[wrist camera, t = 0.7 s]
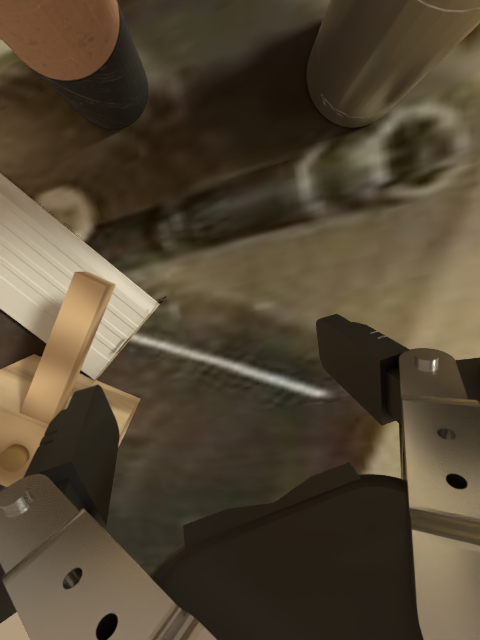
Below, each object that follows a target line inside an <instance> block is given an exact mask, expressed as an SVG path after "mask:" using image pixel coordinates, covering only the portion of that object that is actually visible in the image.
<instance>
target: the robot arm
mask: <svg viewBox="0 0 480 640" xmlns="http://www.w3.org/2000/svg"><path fill="white" fill-rule="evenodd" d="M479 23H480V0H331V1H330V3H329V6H328V8H327V11H326V14H325V16H324V19H323V21H322V24H321V26H320V29H319V32H318V34H317V37H316V40H315V42H314V45H313V48H312V50H311V53H310V56H309V60H308V64H307V77H306V78H307V85H308V90H309V93H310V96H311V99H312V101H313V103H314V105H315V106H316V108H317V109H318V111H319V112H320V113H321V114H322V115H323V116H324V117H325V118H327V119H328V120H330V121H331V122H332V123H335V124H337V125H340V126H343V127H350V128H355V127H363V126H366V125H369V124H372V123H374V122H375V121H377V120H379V119H381V118H382V117H383V116H384V115H385V114H386V113H387V112H388V111H389V110H390V109H391V108H392V107H393V106H395V105H396V104H397V103H398V102H399V101H400V100H401V99H402V98H403V97H404V96H405V95H406V94H407V93H408V92H409V91H410V90H411V89H412V88H413V87H414V86H415V85H416V84H417V83H419V82H420V81H421V80H422V79H423V78H424V77H425V76H426V75H427V74H428V73H429V72H430V71H431V70H432V69H433V68H434V67H435V66H436V65H437V64H438V63H439V62H440V61H441V60H442V59H443V58H444V57H445V56H446V55H447V54H448V53H449V52H450V51H451V50H453V49H454V48H455V47H456V46H457V45H458V44H459V43H460V42H461V41H462V40H463V39H464V38H465V37H466V36H467V35H468V34H469V33H470V32H471V31H472V30H473V29H474V28H475V27H476V26H477V25H478V24H479ZM316 329H317V337H318V346H319V355H320V360H321V363H322V365H323V367H324V369H325V370H326V371H327V372H328V373H329V374H330V375H331V376H332V377H333V378H334V379H335V380H336V381H337V382H338V383H339V384H340V385H341V386H342V387H343V388H344V389H345V390H346V391H347V392H348V393H349V394H350V395H351V396H352V397H353V398H354V399H355V400H356V401H357V402H358V403H359V404H360V405H361V406H362V407H363V408H364V409H365V410H367V411H368V412H369V413H370V414H371V415H372V416H373V417H374V418H375V419H376V420H377V421H378V422H379V423H380V424H381V425H385V424H387V423H390V422H393V421H397V422H398V423H399V438H400V460H401V479H399V478H396V477H391V476H385V475H375V474H366V475H358V474H357V472H356V471H355V470H354V468H353V467H352V466H351V464H350V463H346V464H343V465H341V466H338V467H336V468H333V469H330V470H328V471H325V472H323V473H320V474H317V475H315V476H312V477H310V478H309V479H307V480H306V481H304V482H303V483H302V484H300V485H299V486H297V487H296V488H294V489H293V490H292V491H290V492H289V493H287V494H286V495H285V496H283V497H282V498H280V499H279V500H277V501H276V502H273V503H270V504H262V505H254V506H247V507H239V508H231V509H226V510H223V511H220V512H218V513H215V514H212V515H210V516H207V517H205V518H202V519H199V520H197V521H194V522H191V523H189V524H186V525H184V526H183V529H184V541H185V542H184V543H183V544H181V545H180V546H179V547H177V548H176V549H175V550H174V551H173V552H171V553H170V554H169V555H168V556H167V557H166V558H165V559H164V560H163V561H162V562H161V563H160V564H159V565H158V567H157V568H156V569H155V570H154V571H153V573H152V574H151V575H150V576H148V574H147V573H146V572H145V571H144V570H143V569H142V568H141V567H140V566H139V565H138V564H137V563H136V562H135V561H134V560H133V559H132V558H131V557H130V556H129V555H128V554H127V553H126V552H125V551H124V549H123V548H122V547H121V546H120V545H119V544H118V543H117V542H116V541H115V540H114V539H113V538H112V537H111V536H110V535H109V534H108V533H107V532H106V531H105V530H104V529H103V528H102V527H104V526H106V523H107V517H108V510H109V504H110V497H111V491H112V484H113V478H114V471H115V464H116V458H117V451H118V445H119V438H120V435H119V427H118V423H117V421H116V418H115V416H114V414H113V411H112V409H111V407H110V405H109V402H108V400H107V398H106V396H105V393H104V391H103V389H102V387H101V386H100V385H94V386H91V387H88V388H84V389H81V390H78V391H75V392H74V393H73V396H72V398H71V400H70V403H69V405H68V407H67V409H65V410H61V411H60V412H59V413H58V415H57V416H56V417H55V418H54V419H53V420H52V421H51V422H50V423H49V425H48V427H47V429H46V431H45V434H44V437H43V438H42V440H41V442H40V444H39V445H40V447H38V448H37V450H36V452H35V454H34V456H33V458H32V460H31V463H30V465H29V467H28V469H27V471H26V473H25V475H24V477H23V478H22V479H20V480H18V481H16V482H14V483H13V484H11V485H10V486H8V487H7V488H5V489H4V490H3V491H1V492H0V623H2V622H3V621H4V620H6V619H7V618H9V617H10V616H12V615H13V614H14V613H16V612H17V613H18V615H19V617H20V619H21V621H22V623H23V625H24V627H25V630H26V632H27V634H28V636H29V638H30V640H480V358H473V359H464V360H455V359H454V358H453V357H452V356H450V355H449V354H447V353H445V352H443V351H439V350H435V349H429V348H418V349H411V350H409V349H408V348H406V347H404V346H402V345H401V344H399V343H397V342H395V341H394V340H392V339H390V338H388V337H385V335H383V334H381V333H380V332H377V331H376V330H374V329H373V328H371V327H369V326H367V325H364V324H360V323H356V322H350V321H348V320H347V319H345V318H343V317H342V316H340V315H338V314H334V315H331V316H328V317H324V318H321V319H318V320H317V322H316Z"/></svg>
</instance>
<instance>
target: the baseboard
mask: <svg viewBox="0 0 480 640" xmlns="http://www.w3.org/2000/svg"><path fill="white" fill-rule="evenodd" d="M84 271H87V272H90V273H92V274H94V275H96V276H98V277H101V278H103V279H105V280H107V281H109V282H111V283H114V284H116V286H115V288H114V291H113V293H112V295H111V298H110V300H109V303H108V305H107V307H106V310H105V312H104V315H103V317H102V320H101V322H100V324H99V327H98V329H97V332H96V334H95V337H94V339H93V341H92V344H91V346H90V349H89V351H88V353H87V356H86V358H85V361H84V363H83V366H82V368H81V370H82V371H83V372H85V373H86V374H87V375H89V376H90V377H91V378H92V379H94V381H95V380H96V379H97V378H98V377H99V376H100V375H101V374H102V372H103V371H104V370H105V369H106V368H107V367H108V365H109V364H110V363H111V362H112V361H113V359H114V358H115V357H116V356H117V355H118V353H119V352H120V351H121V350H122V349H123V347H124V346H125V345H126V344H127V343H128V341H129V340H130V339H131V338H132V337H133V335H134V334H135V333H136V332H137V331H138V329H139V328H140V327H141V326H142V325H143V323H144V322H145V321H146V320H147V319H148V318H149V316H150V315H151V314H152V313H153V312H154V310H155V309H156V308H157V307H158V306H159V304H160V303H162V302H163V300H162V301H161V302H160V303H158V302H156V301H155V300H154V299H153V298H152V297H150V296H149V295H148V294H147V293H145V292H144V291H143V290H142V289H141V288H139V287H138V286H137V285H136V284H135V283H133V282H132V281H131V280H130V279H129V278H127V277H126V276H125V275H124V274H122V273H121V272H120V271H119V270H118V269H116V268H115V267H114V266H113V265H112V264H110V263H109V262H108V261H107V260H106V259H104V258H103V257H102V256H101V255H99V254H98V253H97V252H96V251H95V250H93V249H92V248H91V247H90V246H89V245H87V244H86V243H85V242H84V241H83V240H81V239H80V238H79V237H78V236H76V235H75V234H74V233H73V232H72V231H70V230H69V229H68V228H67V227H66V226H64V225H63V224H62V223H61V222H59V221H58V220H57V219H56V218H55V217H53V216H52V215H51V214H50V213H49V212H47V211H46V210H45V209H44V208H43V207H41V206H40V205H39V204H38V203H36V202H35V201H34V200H33V199H32V198H30V197H29V196H28V195H27V194H26V193H24V192H23V191H22V190H21V189H20V188H18V187H17V186H16V185H15V184H13V183H12V182H11V181H10V180H9V179H7V178H6V177H5V176H4V175H3V174H1V173H0V309H2V310H3V311H4V312H5V313H7V314H8V315H9V316H11V317H12V318H13V319H15V320H16V321H17V322H19V323H20V324H21V325H23V326H24V327H25V328H27V329H28V330H29V331H31V332H32V333H33V334H34V335H36V336H37V337H38V338H40V339H41V340H42V341H44V342H45V343H46V344H47V342H48V339H49V337H50V334H51V332H52V329H53V327H54V324H55V321H56V319H57V316H58V314H59V311H60V309H61V306H62V304H63V301H64V298H65V296H66V293H67V291H68V288H69V286H70V283H71V280H72V278H73V275H74V273H75V272H84ZM164 298H166V296H165V297H164ZM164 298H163V299H164ZM94 381H93V382H94ZM93 382H92V383H93Z"/></svg>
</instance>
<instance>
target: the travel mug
mask: <svg viewBox="0 0 480 640" xmlns="http://www.w3.org/2000/svg"><path fill="white" fill-rule="evenodd" d="M0 38H1V39H2V40H3V41H4V42H5V43H6V44H7V45H8V46H9V47H10V48H11V49H12V50H13V51H14V52H15V53H16V54H17V55H18V56H19V57H20V58H21V59H22V60H23V61H24V62H25V63H26V64H27V65H28V66H29V67H30V68H31V69H32V70H33V71H34V72H35V73H36V74H38V75H39V76H40V77H41V78H42V79H43V80H44V81H45V82H46V83H47V84H48V85H50V86H51V87H52V88H53V89H54V90H55V91H56V92H57V93H58V94H59V95H60V96H62V97H63V98H64V99H65V100H66V101H67V102H68V103H69V104H70V105H71V106H72V107H74V108H75V109H76V110H77V111H78V112H79V113H80V114H81V115H82V116H84V117H85V118H86V119H87V120H89V121H90V122H91V123H93V124H95V125H97V126H99V127H102V128H106V129H120V128H124V127H126V126H129V125H130V124H132V123H133V122H134V121H136V120H137V119H138V118H139V116H140V115H141V114H142V112H143V110H144V108H145V106H146V103H147V98H148V83H147V78H146V74H145V71H144V68H143V66H142V63H141V60H140V58H139V55H138V53H137V50H136V48H135V45H134V42H133V40H132V37H131V35H130V32H129V30H128V27H127V24H126V22H125V19H124V17H123V14H122V12H121V9H120V6H119V4H118V1H117V0H0Z"/></svg>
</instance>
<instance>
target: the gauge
mask: <svg viewBox="0 0 480 640" xmlns="http://www.w3.org/2000/svg"><path fill="white" fill-rule="evenodd" d="M115 286H116V284H114V283H111V282H109V281H107V280H105V279H103V278H101V277H98V276H96V275H94V274H92V273H90V272H87V271H84V272H75V273H74V275H73V278H72V280H71V283H70V286H69V288H68V291H67V293H66V296H65V298H64V301H63V304H62V306H61V309H60V311H59V314H58V316H57V319H56V321H55V324H54V327H53V329H52V332H51V334H50V337H49V339H48V342H47V344H46V347H45V350H44V352H43V355H42V357H40V356H38V355H35V354H33V355H31V356H29V357H27V358H25V359H22V360H20V361H18V362H16V363H14V364H11V365H9V366H7V367H5V368H2V369H0V485H3V486H6V487H8V486H10V485H11V484H13V483H14V482H16V481H18V480H20V479H22V478H23V477H24V475H25V473H26V471H27V469H28V467H29V465H30V463H31V460H32V458H33V456H34V454H35V452H36V450H37V448H38V447H40V445H39V444H40V442H41V440H42V438H43V437H44V434H45V431H46V429H47V427H48V425H49V423H50V422H51V421H52V420H53V419H54V418H55V417H56V416H57V415H58V413H59V412H60V411H61V410H65V409H67V407H68V405H69V403H70V400H71V398H72V396H73V393H74V392H75V391H78V390H81V389H84V388H88V387H91V386H94V385H100V386H101V387H102V389H103V391H104V393H105V396H106V398H107V400H108V402H109V405H110V407H111V409H112V411H113V414H114V416H115V418H116V421H117V423H118V427H119V435H120V438H119V445H120V443H121V441H122V439H123V437H124V434H125V432H126V430H127V428H128V426H129V423H130V421H131V419H132V417H133V414H134V412H135V410H136V408H137V406H138V403H139V401H140V399H139V398H137V397H135V396H132V395H130V394H128V393H125V392H123V391H120V390H118V389H116V388H113V387H111V386H109V385H106V384H104V383H102V382H99V381H97V380H95V381H94V379H92V378H90V377H87V376H85V375H83V374H80V370H81V368H82V366H83V363H84V361H85V358H86V356H87V353H88V351H89V349H90V346H91V344H92V341H93V339H94V337H95V334H96V332H97V329H98V327H99V324H100V322H101V320H102V317H103V315H104V312H105V310H106V307H107V305H108V303H109V300H110V298H111V295H112V293H113V291H114V288H115ZM93 381H94V382H93ZM92 382H93V383H92ZM119 445H118V447H119Z"/></svg>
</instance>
